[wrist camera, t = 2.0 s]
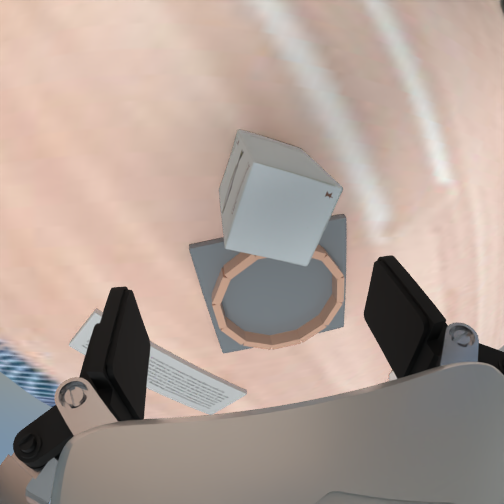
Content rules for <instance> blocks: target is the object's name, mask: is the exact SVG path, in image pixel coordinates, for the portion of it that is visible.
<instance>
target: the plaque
mask: <svg viewBox="0 0 504 504" xmlns="http://www.w3.org/2000/svg"><path fill="white" fill-rule="evenodd" d="M102 314H103V312H101V311H100V310H98V309H97V308H96V310H95V311H94V312H93V313H92V314H91V316H90V317H89V318H88V319H87V321H86V322H85V323H84V324H83V326H82V327H81V328H80V330H79V331H78V332H77V333H76V335H75V336H74V337H73V338H72V340H71V341H70V344H69V346H70V347H72V348H74V349H75V350H77V351H79V352H80V353H82V354H84V355H86V352H87V348H88V345H89V342H90V338H91V335H92V332H93V329H94V326H95V325H96V324H97V323H100V321H101V318H102ZM146 388H148V389H150V390H153V391H155V392H157V393H159V394H161V395H163V396H166V397H168V398H170V399H172V400H175V401H177V402H179V403H182V404H184V405H187V406H189V407H191V408H194V409H196V410H199V411H201V412H204V413H207V414H209V415H212V414H214V413H216V412H217V411H219V410H221V409H223V408H224V407H226V406H228V405H230V404H231V403H233V402H235V401H236V400H238V399H240V398H241V397H243V396H245V395H246V394H247V391H246V390H245V389H243V388H241V387H239V386H236V385H234V384H232V383H230V382H228V381H226V380H224V379H222V378H219V377H217V376H215V375H213V374H211V373H209V372H207V371H205V370H203V369H201V368H199V367H197V366H195V365H193V364H191V363H190V362H188V361H186V360H184V359H182V358H180V357H178V356H176V355H174V354H173V353H171V352H169V351H167V350H165V349H163V348H162V347H160V346H158V345H156V344H154V343H153V342H151V341H150V357H149V366H148V376H147V386H146Z"/></svg>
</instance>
